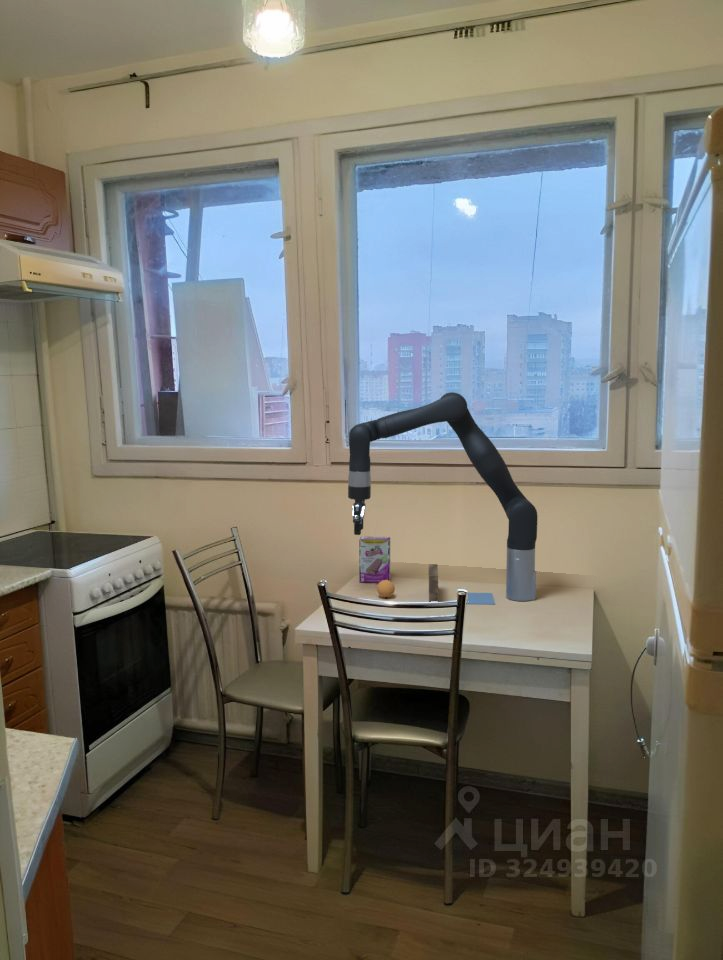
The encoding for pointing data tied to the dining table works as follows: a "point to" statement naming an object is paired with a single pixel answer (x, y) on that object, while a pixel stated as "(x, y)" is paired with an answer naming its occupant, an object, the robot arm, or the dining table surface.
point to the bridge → (433, 582)
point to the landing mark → (480, 598)
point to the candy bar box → (374, 559)
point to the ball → (385, 588)
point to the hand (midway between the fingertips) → (358, 532)
